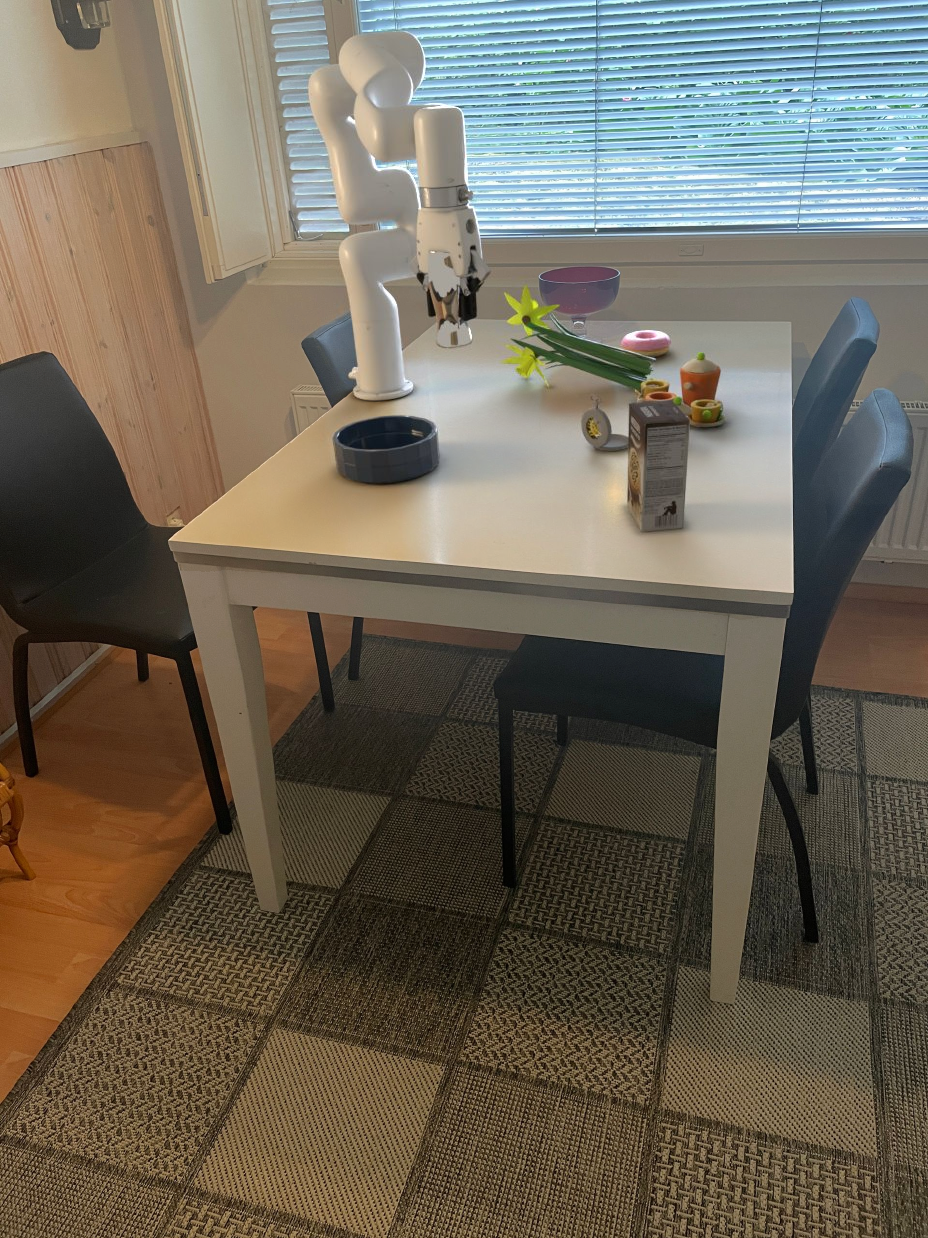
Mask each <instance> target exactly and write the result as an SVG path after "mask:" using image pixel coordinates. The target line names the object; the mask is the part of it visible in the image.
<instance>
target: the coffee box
mask: <svg viewBox="0 0 928 1238" xmlns="http://www.w3.org/2000/svg"><path fill="white" fill-rule="evenodd" d="M687 417H688V416H686V415H685V414H684V413H683V412H682V411H681V410H680V409H679V407H678V406H677V405H676V404H675V403H674V402H673V401H672V400H664V401H644V402H638V401H635V402H629V403H628V433H627V434H628V436H627V437H628V447H627V491H626V493H627V502H626V503H627V504H626V507H627V509H628V511H629V512H630V515H631V516H632V518H633V519H634V522H635V523H636V525H637V526H638V528H639V530H640V532H642V533H643V532H654V531H666V530H676V529H683V528H684V519H685V503H686V490H687V489H686V487H687V475H688V462H689V461H688V460H689V459H688V458H689V443H690V442H689V441H690V425H691V424H690V420H689V419H688V418H687Z"/></svg>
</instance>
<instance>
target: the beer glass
mask: <svg viewBox="0 0 928 1238" xmlns="http://www.w3.org/2000/svg"><path fill="white" fill-rule="evenodd" d="M427 272H428V283H429V289H430V294H431V298H432V303H433V306H434V310H435V315H436V316H435V320H436V338H435V345H436V347H438V348H441V349H459V348H466V347H469V346H470V345H472V344H473V336H472V332H471V326H470V320H468V321H463V320H462V313H461V296H462V295H464V294H463V291H462V288H461V286H460V277H457V276H455V272H454V269H453V265H452V262H451V258H450V254H449V251H446V252H435V251H430V250H427ZM468 273H469V267H468ZM466 279H467V282H468V284H470V279H469V277H467V278H466Z"/></svg>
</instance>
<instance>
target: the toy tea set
mask: <svg viewBox="0 0 928 1238" xmlns="http://www.w3.org/2000/svg"><path fill="white" fill-rule="evenodd" d="M721 372H722V369H721V367H720V366H719V365H717V364H716V362H714V361H713V360H711V359H709V358H706V354H705V353H704V352H698V353H697V355H696V357H694V358H692V359H690V360H689V361H687V362H686V363H685V364H684V365H682V366H681V367H680V369H679V377H680V387H681V396H682V397H680V396H678V395H677V394H676V393H674V392H670V391H669V390H670V383H669V382H668V381H666V380H662V379H654V378H651V377H650V378H647V381H644V382H642V383H641V390H642V391H640V392H641V393H640V392H639V390H637V389H634V391H635V394H637V398H636V400H637V402H644V401H664V400H672V401H673V402H674V403H675V404H676V405H677V406H678V407H679V409H680V410H681V411H682V412H683V413H684V414H685V415H686V416H687V418H688V419H689V420H690V425H692V426H694V427H699V428H714V427H717V426H721V425H723V424H724V423H725V421H726V417H725V416H724V415H723V412H724V405H723V402H722V401H721V400H715V399H716V394H717V390H718V386H719V381H720V377H721Z"/></svg>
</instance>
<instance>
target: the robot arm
mask: <svg viewBox="0 0 928 1238" xmlns="http://www.w3.org/2000/svg"><path fill="white" fill-rule="evenodd" d="M338 53H339V54H338V63H334V64H333V63H332V64H328V65H325V66H324V65H323V66H321V67H319V68H316V69H315V70H314V71H313V72H312V73H311V75H310V76H309V79H308V83H307V84H308V85H307V92H308V101H309V106H310V111H311V115H312V117H313V119H314V122H315V125H316V126H317V129H318V131H319V133H320V136H321V138H322V140H323V142H324V145H325V148H326V151H327V155H328V160H329V166H330V167H329V168H330V172H331V178H332V183H333V189H334V193H335V199H336V204H337V209H338V212H339V215H340V217H341V219H342V221H343V222H344V223H345V224H347V225H352V226H360V225H363V226H364V225H371V224H378V223H387V222H394V224H395V226H396V227H393V228H386V229H376V230H369V231H363V232H357V233H354V234H351V235H349V236H347V237H346V238H344V239H343V240H342V242H341V243H340V245H339V247H338V261H339V265H340V268H341V272H342V275H343V279H344V283H345V287H346V291H347V297H348V301H349V310H350V317H351V323H352V324H351V325H352V331H353V339H354V348H355V356H356V364H357V366H353V367H352V369H351V371H349V373H348V375H347V376H348V378H349V379H351V380H355V381H356V385H355V386H354V387H353V389H352V391H353V396H354V397H356V398H357V399H359V400H363V401H387V400H393V399H398V398H401V397H405V396H406V395H409V394H410V393H411V392H412V391H413V390H414V384H413V382H412V381H411V380H409V379H406V378H405V377H406V376H405V367H404V357H403V348H402V338H401V337H402V336H401V328H400V327H401V326H400V319H399V318H400V317H399V310H398V309H399V308H398V304H397V302H396V300H395V298H394V296H393V295H392V294H391V293H390V292H389V291H388V290H387V289H386V288H385V287H384V285H383V284H384V283H388V282H391V281H392V282H393V281H397V280H403V279H410V278H416V279H417V281H418V282H419V283H420V285H421V286H422V290H423V292H425V293H426V304H427V315H428V317H429V318H434V317H436V315H435V310H434V306H433V303H432V298H431V294H430V289H429V283H428V272H427V250H430V251H435V252H446V251H449V254H450V258H451V262H452V265H453V269H454V272H455V276H457V277H460V286H461V288H462V291H463V294H464V295H462V296H461V313H462V320H463V321H468V320H469V321H471V320H474V319H476V318H477V316H478V305H477V304H478V303H477V293H478V292H479V291H480V288H482V286H483V285H484V283H485V281H486V280H487V279H488V277H489V276H490V275H491V271H492V269H491V268H490V267H489V265H488V264H487V263H486V262H485V260H484V258H483V251H482V250H483V249H482V242H481V234H480V228H479V223H478V218H477V214H476V211H475V207H474V206H473V205H470V201H472V200H473V199H474V192H473V191H472V190H469V181H468V180H469V179H468V178H469V177H468V163H467V162H468V161H467V146H466V145H467V144H466V143H467V142H466V127H465V116H464V113H463V111H462V109H461V108H459V107H457V106H452V105H446V104H444V103H436V102H434V103H423V104H421V103H419V104H410V103H411V101H412V98H413V95H414V94H415V93H416V91H417V90H418V89H419V88H420V86H421V84H422V82H423V80H424V76H425V72H426V56H425V52H424V49H423V46H422V44H421V42H420V41H419V39H418V38H417V37H416V35H414V34H413V33H411V32H409V31H404V30H397V31H382V32H378V31H377V32H366V33H365V32H364V33H358V34H355V35H353V36H351V37H350V38H348V39H347V40H345V42H344V43H343V44H342V46H341V48H340V50H339V52H338ZM352 117H353V118H352ZM375 160H376V161H378V162H381V163H397V162H405V161H414V160H416V169H417V181H418V182H417V183H418V186H417V183H416V180H415V179H414V176H413V175H412V173H411V172H410V170H408V169H407V168H404V167H403V166H402V167H401V166H390V167H381V168H380V167H379V168H378V167H377V165H376V161H375ZM468 267H469V273H468ZM475 274H476V275H475ZM467 277H469V279H470V284H468V282H467V279H466V278H467Z"/></svg>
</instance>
